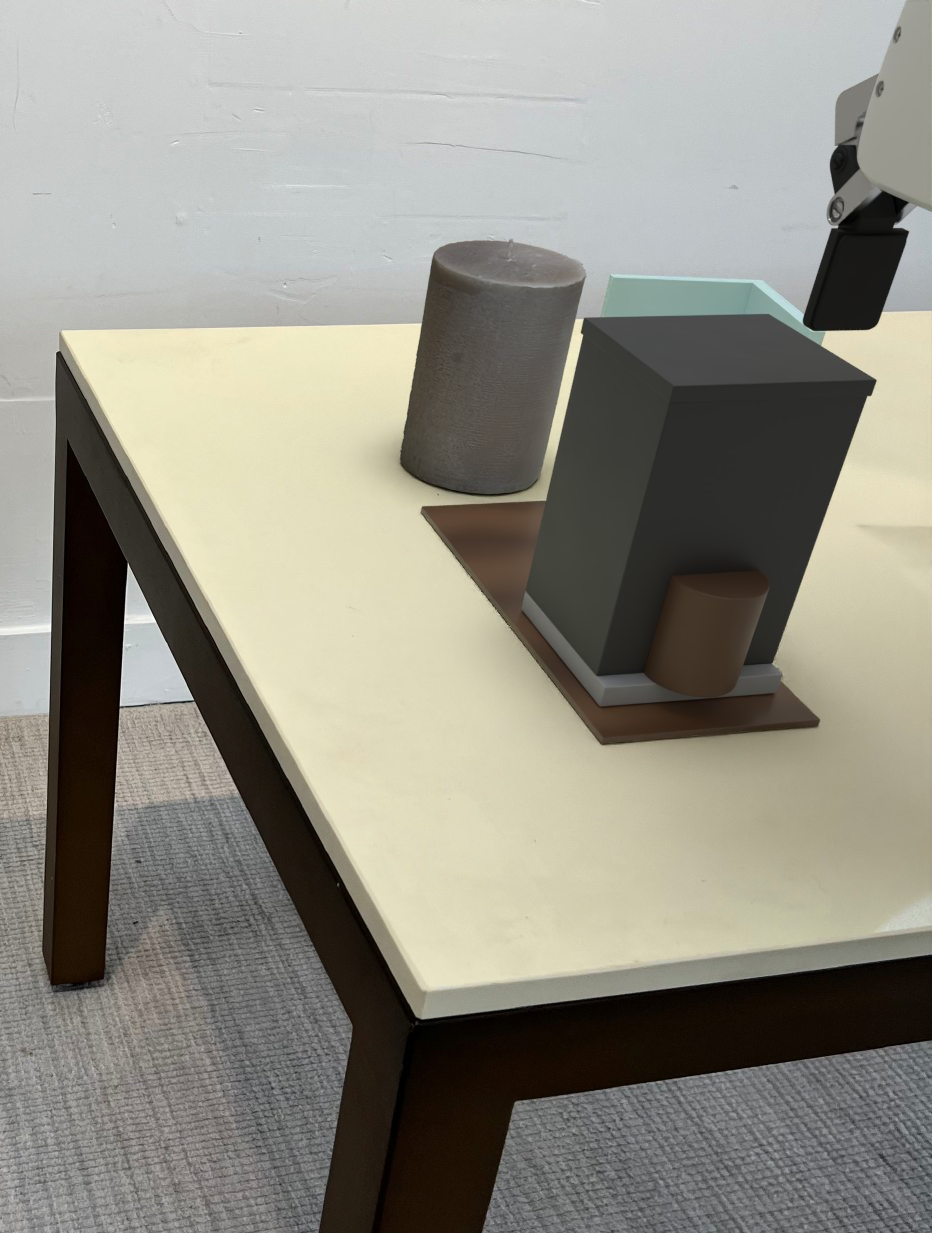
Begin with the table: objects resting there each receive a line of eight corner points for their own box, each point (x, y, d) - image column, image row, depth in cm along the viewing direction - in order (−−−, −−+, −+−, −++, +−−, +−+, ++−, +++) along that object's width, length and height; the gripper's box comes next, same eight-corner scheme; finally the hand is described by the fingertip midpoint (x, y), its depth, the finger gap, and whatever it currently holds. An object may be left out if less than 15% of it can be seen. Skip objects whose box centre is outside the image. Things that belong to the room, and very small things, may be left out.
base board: (818, 726, 71) (821, 719, 71) (601, 744, 69) (603, 737, 69) (593, 503, 92) (594, 498, 91) (420, 511, 89) (421, 505, 89)
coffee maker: (795, 710, 71) (911, 400, 62) (611, 725, 69) (702, 407, 60) (683, 598, 81) (768, 313, 71) (518, 608, 79) (583, 317, 69)
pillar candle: (374, 445, 98) (406, 222, 89) (494, 431, 101) (536, 215, 92) (445, 504, 90) (487, 267, 82) (571, 487, 93) (625, 257, 85)
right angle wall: (588, 368, 112) (610, 273, 108) (734, 374, 113) (761, 280, 109) (633, 427, 103) (659, 325, 98) (792, 432, 103) (825, 331, 99)
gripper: (1447, -129, 38) (1157, 457, 48) (1020, -165, 52) (863, 298, 62) (1218, -141, 37) (968, 465, 47) (841, -176, 51) (710, 300, 61)
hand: (908, 369), depth 55 cm, fingers open, 9 cm apart
